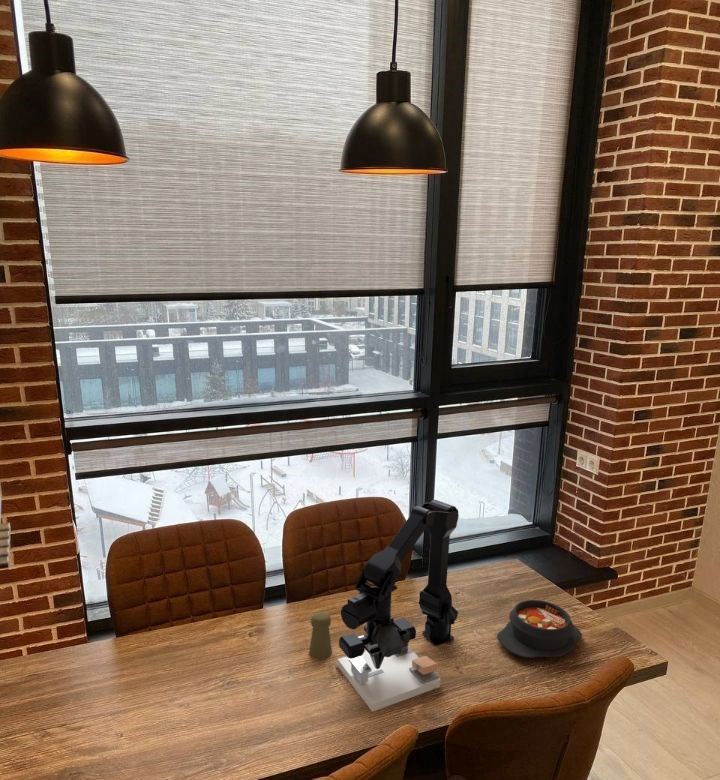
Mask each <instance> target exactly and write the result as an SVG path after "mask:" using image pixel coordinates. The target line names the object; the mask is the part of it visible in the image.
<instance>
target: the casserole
mask: <svg viewBox="0 0 720 780" xmlns="http://www.w3.org/2000/svg"><path fill="white" fill-rule="evenodd" d="M496 638H497V641H498V643H499V644H500V645H501V646H502V647H503V648H504V649H505V650H507V651H508V652H510V653H512V654H514V655H516V656H519V657H521V658H524V659H525V658H528V659H529V658H539V657H541V658H542V657H545V658H548V657H549V658H556V657H562V656H566V655H568V654H570V653H572V651H573V650H574V649H575V647H576V645H577V643H578V641H580V640H581V639H582V638H583V634H582V632H581V630H580V629H579V628H578V627H577V626H576V625H574V623H573V621H572V620H571V616H570V614H569V613H568V612H567V611H566V610H565V609H564V608H562V607H560V606H558V605H557V604H554V603H552V602H550V601H549V602H548V601H544V600H542V599H541V600H540V599H539V600H538V599H526V600H523V601H520V602H518V603H517V604H516V605H515V606H514V608H513V609H511V610H510V612H509V622H507V624H506V625H505V626H504V628H503V629H501V630H500V631H499V632H498V633H497V634H496Z"/></svg>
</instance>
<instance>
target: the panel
mask: <svg viewBox="0 0 720 780" xmlns="http://www.w3.org/2000/svg"><path fill="white" fill-rule="evenodd" d="M361 657H362V658H363V660H364V661H365V662H366V663H367V664H368V666H369V667H370V668H371V669H372V671H371V672H369V674H368V682H366V683H364V684H360V683H359V681H358V680H357V679H356V678H355V676H354V675H353V674H352V672H351V663H350V662H349V658H348V657H347V656H346V655H345V656H343V657H340V658H337V667H338V669H339V670H340V672H341V673H342V674H343V676H344V677H345V678H346V679H347V681H349V683H350V684H351V686H352V687H353V688H354V690H355V691H356V693H357V694H358V695H359V697H361V699H362V700H363V702H364V703H365V704H366V705H367V707H368V708H369V710H370V711H371V712H372V713H373V712H376V711H378V710H381V709H384V708H386V707H389V706H392V705H394V704H397V703H400V702H403V701H406V700H408V699H410V698H413V697H417V696H419V695H422V694H425V693H427V692H430V691H432V690H436V689H438V688H441V681H442V680H441V678H440V675H439V674H438V673H436V671H433V672H430V673H427V674H424V675H423V674H422V673H420V672H419V671H418V670H416V669H415V668H413V667H412V660H414V659H417V658H420V657H419V656H418V655H417V654H416V653H415V652H414V651H413V649H412V648H411V647H410V646H408V650H407V651H406V652H404V653H400V654H395V655H392V656H391V657H384V659H383V662H382V664H381V666H380V668H379V669H376V668H375V667H374V664H373V662H372V659H371V657H370V654H369V653H368V652H367V651H366V650H364V653H363V655H362V656H361Z"/></svg>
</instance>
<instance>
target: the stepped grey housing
mask: <svg viewBox="0 0 720 780" xmlns="http://www.w3.org/2000/svg"><path fill="white" fill-rule="evenodd" d="M349 662H350V663H351V672H352V674H353V675H354V676H355V678H356V679H357V680H358V681H359V683H360V684H364V683H366V682H368V674H369V672H371V671H372V669H371V668H370V667H369V666H368V664H367V663H366V662H365V661H364V660H363V658H362V657H361V656H359V657H356V658H353V659H350V658H349Z"/></svg>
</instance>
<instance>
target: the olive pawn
mask: <svg viewBox="0 0 720 780" xmlns="http://www.w3.org/2000/svg"><path fill="white" fill-rule="evenodd" d="M310 623H311V626H312V631H311V638H310V643H309V644H310V645H309V648H308V649H309V650H308V654H309V656H310V657H311V658H313V659H315V660H318V661H319V660H321V661H322V660H326V659H329V658H330V657H331V656H332V654H333V651H332V648H333V647H332V642H331V634H330V633H331V632H330V627H331V623H332V617H331V616H330V614H329V613H328V612H326V611H317V612H314V613H313V614H312V616H311V619H310Z"/></svg>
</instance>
